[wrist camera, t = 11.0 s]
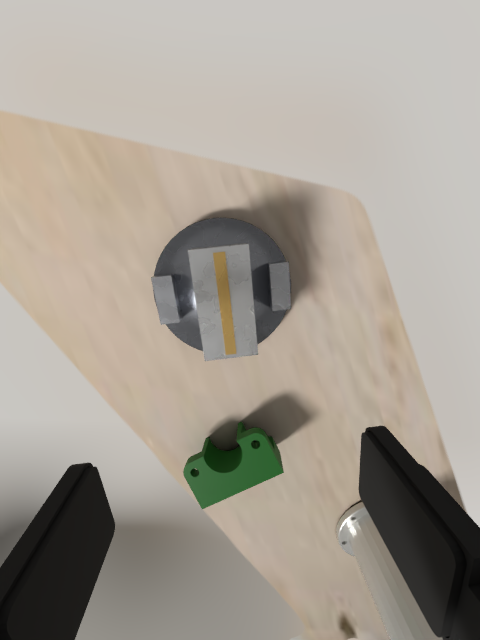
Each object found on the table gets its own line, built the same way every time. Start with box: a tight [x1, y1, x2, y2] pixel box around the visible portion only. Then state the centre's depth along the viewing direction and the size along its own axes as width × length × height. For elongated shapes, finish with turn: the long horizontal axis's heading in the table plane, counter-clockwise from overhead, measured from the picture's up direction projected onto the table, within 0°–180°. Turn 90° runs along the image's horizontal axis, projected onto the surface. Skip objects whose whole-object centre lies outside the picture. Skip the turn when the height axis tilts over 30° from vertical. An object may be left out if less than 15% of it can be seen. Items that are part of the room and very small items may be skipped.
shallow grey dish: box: [151, 218, 291, 351], centre depth 29 cm, size 15×15×3 cm
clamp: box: [184, 422, 284, 509], centre depth 34 cm, size 12×6×9 cm, turn 111°
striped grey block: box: [188, 243, 258, 361], centre depth 26 cm, size 5×10×6 cm, turn 5°
